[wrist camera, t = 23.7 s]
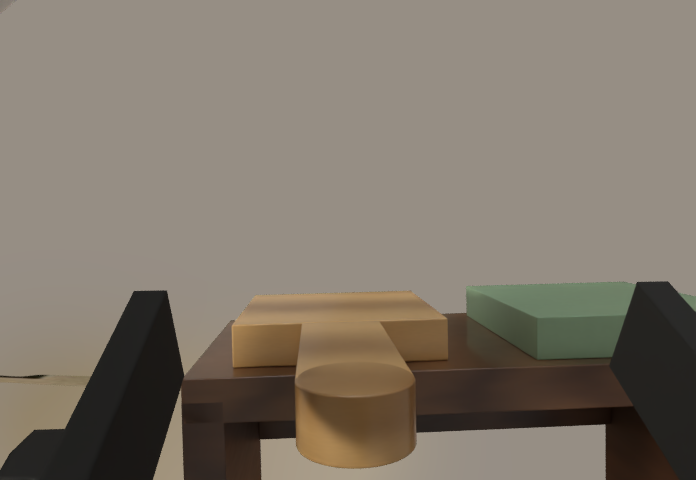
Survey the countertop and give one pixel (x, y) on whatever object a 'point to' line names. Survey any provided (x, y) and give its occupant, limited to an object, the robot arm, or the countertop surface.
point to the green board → (556, 316)
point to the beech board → (346, 367)
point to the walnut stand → (418, 403)
